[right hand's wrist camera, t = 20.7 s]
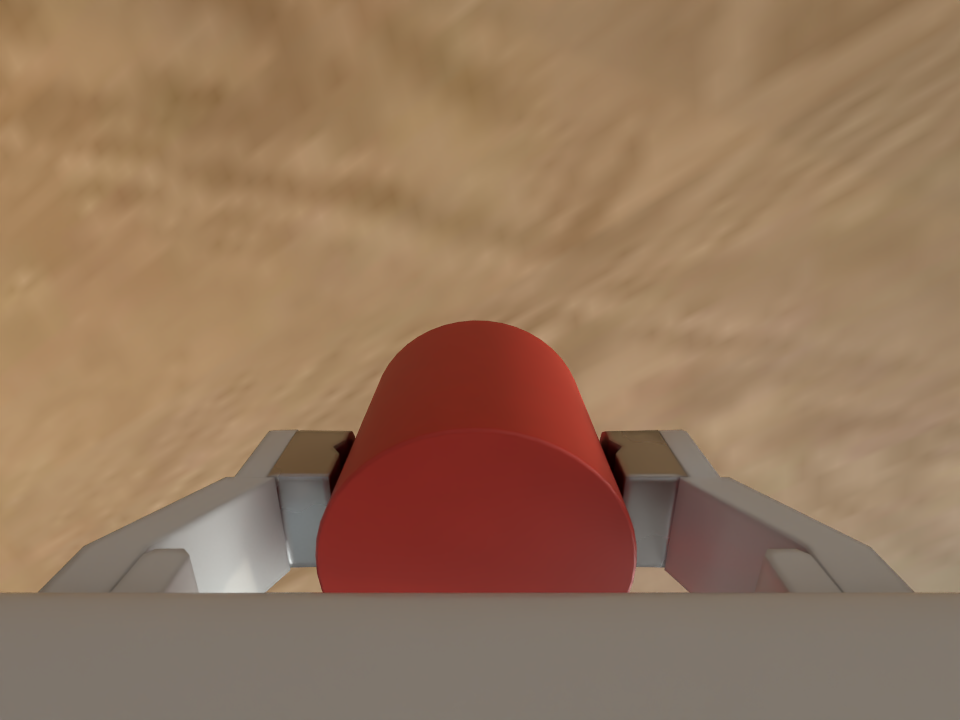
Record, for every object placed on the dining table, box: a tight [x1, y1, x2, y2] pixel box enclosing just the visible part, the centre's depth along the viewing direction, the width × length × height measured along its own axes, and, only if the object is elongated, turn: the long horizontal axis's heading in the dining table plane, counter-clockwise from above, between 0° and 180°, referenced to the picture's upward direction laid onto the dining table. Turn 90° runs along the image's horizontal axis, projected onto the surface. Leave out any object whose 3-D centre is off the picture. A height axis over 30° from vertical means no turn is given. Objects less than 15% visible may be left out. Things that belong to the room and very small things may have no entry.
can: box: [315, 321, 637, 593], centre depth 10 cm, size 5×5×5 cm
